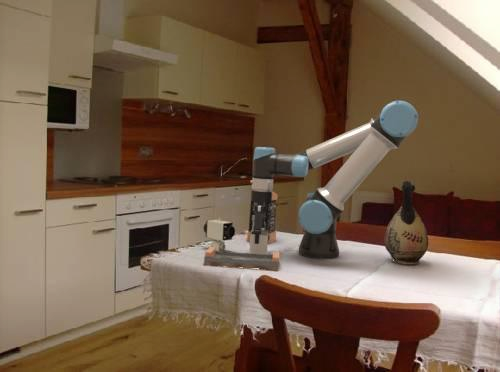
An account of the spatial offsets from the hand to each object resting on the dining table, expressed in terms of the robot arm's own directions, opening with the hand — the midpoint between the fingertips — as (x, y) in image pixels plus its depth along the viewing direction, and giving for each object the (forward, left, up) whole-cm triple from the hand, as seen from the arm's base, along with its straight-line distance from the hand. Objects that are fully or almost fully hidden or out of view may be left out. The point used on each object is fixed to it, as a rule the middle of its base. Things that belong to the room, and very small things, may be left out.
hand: (257, 248), depth 188 cm
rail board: (+4, +15, -2) cm, 16 cm away
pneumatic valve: (+15, -4, -3) cm, 15 cm away
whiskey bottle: (+1, -29, -3) cm, 29 cm away
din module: (0, 0, -3) cm, 3 cm away
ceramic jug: (-53, -7, -3) cm, 54 cm away
